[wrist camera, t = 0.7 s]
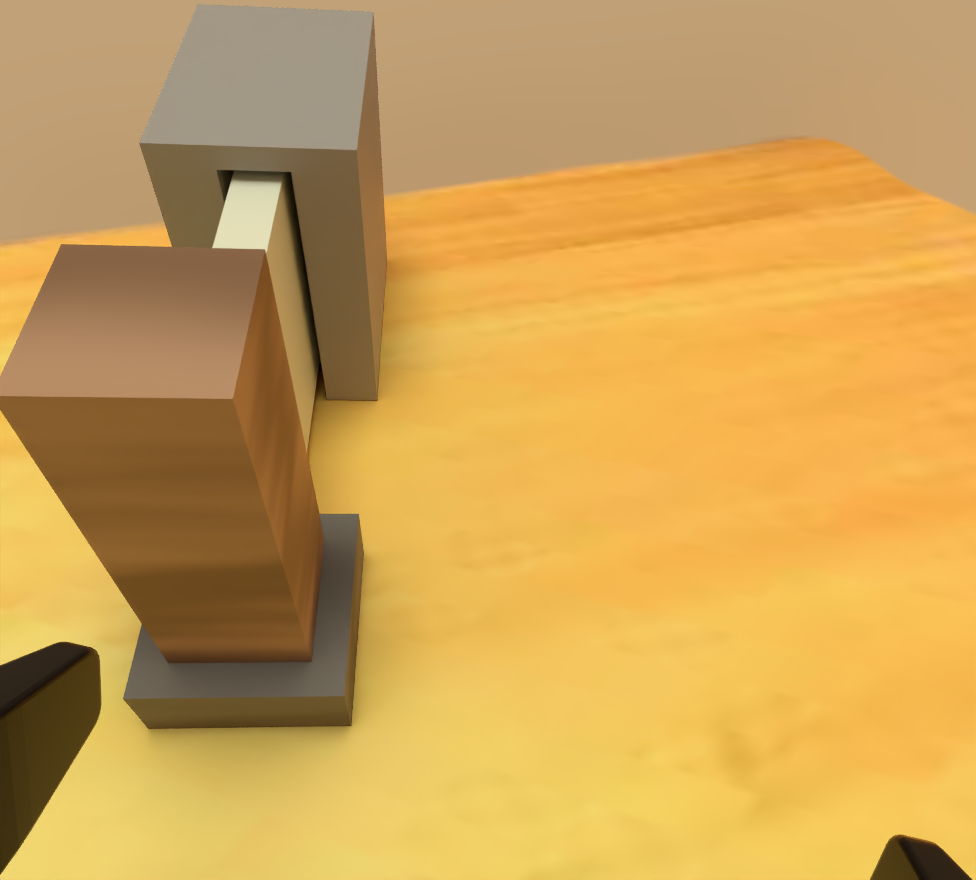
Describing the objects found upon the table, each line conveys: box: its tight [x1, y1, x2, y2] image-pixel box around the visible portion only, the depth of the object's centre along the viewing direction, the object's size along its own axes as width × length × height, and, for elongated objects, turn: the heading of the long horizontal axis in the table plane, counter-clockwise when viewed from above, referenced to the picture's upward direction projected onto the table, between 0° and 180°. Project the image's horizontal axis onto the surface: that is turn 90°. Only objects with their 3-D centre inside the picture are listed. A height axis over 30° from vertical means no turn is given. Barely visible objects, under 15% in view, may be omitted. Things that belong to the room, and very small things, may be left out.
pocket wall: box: [140, 4, 387, 400], centre depth 30 cm, size 9×6×11 cm
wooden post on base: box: [0, 244, 364, 729], centre depth 20 cm, size 6×6×14 cm
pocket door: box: [212, 170, 320, 452], centre depth 26 cm, size 8×2×9 cm, turn 2°
